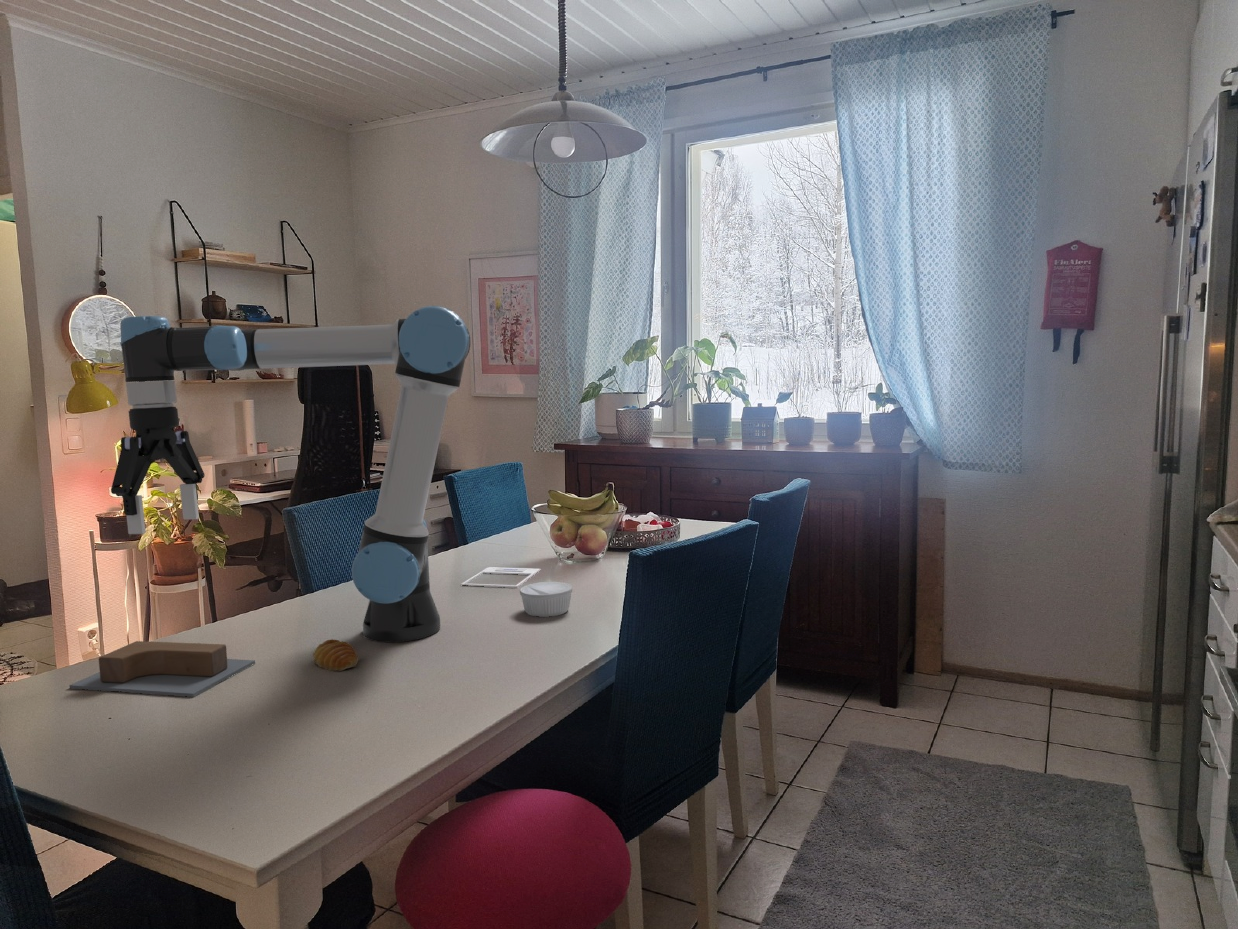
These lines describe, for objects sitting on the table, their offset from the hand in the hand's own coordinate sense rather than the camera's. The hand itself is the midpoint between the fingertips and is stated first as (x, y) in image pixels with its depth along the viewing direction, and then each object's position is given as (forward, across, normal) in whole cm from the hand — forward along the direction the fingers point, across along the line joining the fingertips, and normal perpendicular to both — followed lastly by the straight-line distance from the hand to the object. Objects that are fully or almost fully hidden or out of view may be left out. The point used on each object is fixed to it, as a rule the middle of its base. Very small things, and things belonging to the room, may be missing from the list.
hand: (165, 526), depth 149 cm
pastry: (+27, -5, +28) cm, 39 cm away
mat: (+26, +5, +1) cm, 26 cm away
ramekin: (+28, -42, +57) cm, 76 cm away
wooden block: (+23, +6, -7) cm, 25 cm away
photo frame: (+28, -69, +38) cm, 84 cm away
